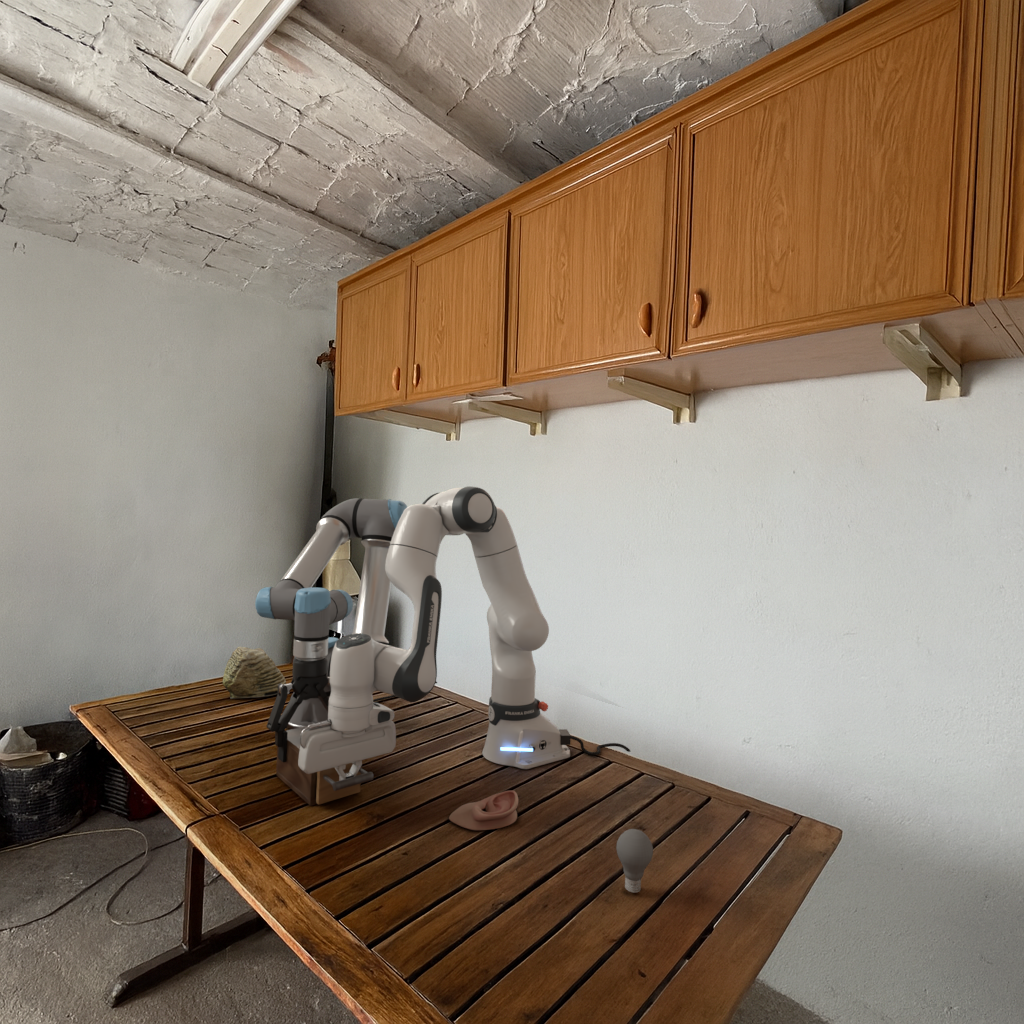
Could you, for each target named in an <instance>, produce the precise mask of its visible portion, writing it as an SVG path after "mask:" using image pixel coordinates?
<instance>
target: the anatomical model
mask: <svg viewBox="0 0 1024 1024" xmlns="http://www.w3.org/2000/svg"><path fill="white" fill-rule="evenodd" d="M518 807H519V796H518V793H517V791H515V790H505V791H501V792H498V793H496V794H492V795H490V796H488V797H486V798H483V799H481V800H478V801H475V802H474V801H472V802H467V803H465V804H463V805H461V806H459V807H457V808H456V809H455V810H453V811H452V812H451V813H450V815H449V816H448V820H449V821H450V822H451V823H453V824H455V825H457V826H459V827H462V828H465V829H466V830H467V829H468V830H470V831H489V830H495V829H501V828H504V827H507V826H510V825H513V824H514V823H515V822H516V821H517V819H518V812H517V809H518Z"/></svg>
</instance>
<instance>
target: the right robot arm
mask: <svg viewBox="0 0 1024 1024" xmlns="http://www.w3.org/2000/svg"><path fill="white" fill-rule="evenodd" d="M461 535H466V536H467V538H468V539H469V542H470V543H471V547H472V553H473V556H474V559H475V562H476V567H477V571H478V574H479V577H480V581H481V584H482V587H483V589H484V591H485V593H486V595H487V597H488V599H489V602H490V605H489V606H488V609H487V610H486V611H487V612H486V621H487V625H488V636H489V649H490V657H491V690H490V691H491V692H490V697H489V699H488V700H489V701H488V709H487V711H488V713H487V715H488V727H487V732H486V737H485V742H484V745H483V748H482V750H481V751H482V752H481V755H482V756H483V757H484V759H486V761H487V760H488V761H489V762H491V763H494V764H497V765H502V766H508V767H515V768H518V769H521V770H529V769H534V768H537V767H540V766H543V765H547V764H551V763H554V762H558V761H561V760H562V761H563V760H565V759H569V758H570V757H571V750H570V748H569V747H568V746H570V745H571V741H572V740H574V741H576V742H578V743H579V746H580V750H581V751H582V752H583V753H585V754H586V755H589V756H599V755H601V753H602V752H601V751H602V750H601V749H603V748H608V747H617V748H621V749H623V750H625V751H626V752H629V753H630V752H631V749H630V748H629V747H628V746H626V745H624V744H623V743H618V742H610V743H603V744H599V745H597V747H596V751H589V750H588V749H586V748H585V745H584V742H583V740H582V739H581V738H579V737H576V736H574V735H571V734H570V732H569V730H568V729H563V728H562V729H559V727H558V726H557V725H556V724H555V723H554V722H553V721H551V720H550V719H549V718H548V717H547V716H545V715H544V714H543V713H541V711H542V712H546V711H548V709H549V705H548V703H546V702H545V701H540V700H539V699H538V698H536V674H537V673H536V672H537V669H536V665H535V661H534V657H533V652H534V651H536V650H539V649H540V648H542V647H543V646H544V645H545V643H546V642H547V640H548V637H549V633H550V628H549V624H548V621H547V619H546V617H545V615H544V613H543V612H542V610H541V606H540V604H539V602H538V600H537V597H536V594H535V593H534V590H533V588H532V585H531V584H530V581H529V579H528V576H527V574H526V571H525V568H524V567H525V566H524V563H523V560H522V557H521V554H520V549H519V546H518V543H517V539H516V535H515V533H514V530H513V528H512V526H511V523H510V521H509V519H508V517H507V515H506V512H504V510H503V509H502V508H501V507H498V506H496V505H495V502H494V499H493V498H492V496H491V495H490V493H488V492H487V490H485V489H483V488H481V487H478V486H464V487H453V488H449V489H446V490H445V491H441V492H436V493H434V494H431V495H429V496H428V497H427V498H426V499H425V500H424V501H422V503H415V504H410V505H409V506H408V505H407V508H406V509H405V510H404V511H403V513H402V515H401V517H400V519H399V521H398V524H397V526H396V528H395V531H394V534H393V536H392V539H391V543H390V546H389V549H388V553H387V557H386V562H385V571H386V574H387V576H388V578H389V580H390V581H391V585H393V586H394V587H395V588H396V589H397V590H399V591H400V592H401V593H403V594H404V595H406V596H407V597H408V598H409V599H410V601H411V603H412V605H413V609H414V610H413V612H414V616H413V622H412V623H413V624H412V631H411V639H410V645H409V648H408V649H405V648H401V647H397V646H393V645H385V644H381V643H379V642H376V641H375V640H373V639H372V637H371V636H369V635H367V634H360V633H357V634H352V633H351V634H346V635H344V636H341V637H340V638H338V639H339V640H337V642H336V643H335V645H334V648H333V652H332V657H331V664H330V685H331V694H330V697H329V704H328V720H326V721H322V722H319V723H312V724H309V725H308V727H306V728H305V729H304V730H303V731H302V732H301V735H300V744H301V746H300V751H299V758H298V766H299V767H300V769H301V770H302V771H304V772H305V773H307V774H311V773H315V772H319V771H323V770H326V769H330V768H335V769H336V771H337V773H338V774H339V781H340V780H344V779H347V778H351V777H354V776H356V774H357V773H358V771H359V769H360V767H361V768H362V766H363V760H367V759H372V758H375V757H379V756H383V755H387V754H390V753H392V752H394V750H395V748H396V745H397V729H396V724H395V722H394V721H393V720H395V711H394V710H393V709H391V708H390V707H388V706H386V705H384V704H381V703H379V702H376V701H375V702H373V700H374V696H373V693H374V692H380V693H383V694H388V695H390V696H391V695H395V696H397V698H399V699H401V700H404V701H406V702H408V703H416V702H419V701H420V700H422V699H424V698H426V697H427V696H428V695H429V694H430V693H431V691H433V689H434V687H435V686H436V684H437V683H436V682H437V677H438V665H437V663H438V662H437V652H438V651H437V649H438V641H439V631H440V621H441V613H442V611H441V610H442V601H443V599H442V597H443V590H442V585H441V582H440V580H439V579H438V578H437V570H436V569H437V560H438V556H439V552H440V547H441V544H442V541H443V540H444V538H445V537H446V536H461ZM377 690H378V691H377ZM307 729H308V730H307ZM349 763H353V765H352V767H351V769H350V771H349V772H347V773H344V771H343V770H344V769H345V767H346V764H349Z"/></svg>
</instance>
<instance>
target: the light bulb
mask: <svg viewBox="0 0 1024 1024" xmlns="http://www.w3.org/2000/svg"><path fill="white" fill-rule="evenodd" d="M615 849H616V854H617V857H618V859H619V861H620V863H621V865H622V867H623V873H624V874H623V875H624V876H625V878H624V888H625V890H627V891H628V892H630V893H634V894H635V893H639V892H640V891H641V889H642V887H641V886H642V879H643V877H644V875H645V871H646V868H647V867H648V866H649V864H650V863H651V861H652V859H653V855H654V847H653V843H652V841H651V838H649V836H648V835H647V834H646V833H645V832H643V831H642V830H641V829H636V828H629V829H627V830H625V831H623V832H622V833H621V834H620V835H619V837H618V839H617V841H616V847H615Z"/></svg>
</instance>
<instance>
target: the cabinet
mask: <svg viewBox="0 0 1024 1024" xmlns="http://www.w3.org/2000/svg"><path fill="white" fill-rule="evenodd" d="M306 727H308V726H305V727H300V728H296V729H287V730H286V731H287V732H288V734H287V759H286V762H282V761H281V760H280V759H278V750H279V747H277V746H276V766H275V767H276V769H275V770H276V771H275V774H276V777H278V778H279V779H280V780H281V781H282V782H283V783H284V784H285V785H286V786H287V787H289V789H291V790H292V791H293V792H294V793H295V794H297V795H298V796H299V797H300V798H301V799H302V800H303V801H304V802H305V803H306V804H307V805H308V806H315V805H318V804H317V803H316V795H315V791H316V772H315V773H311V774H307V773H305V772H304V771H302V770H301V769H300V767H299V766H298V758H299V751H300V746H301V744H300V735H301V732H302V731H303V730H304V729H305V728H306ZM307 730H308V729H307Z"/></svg>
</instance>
